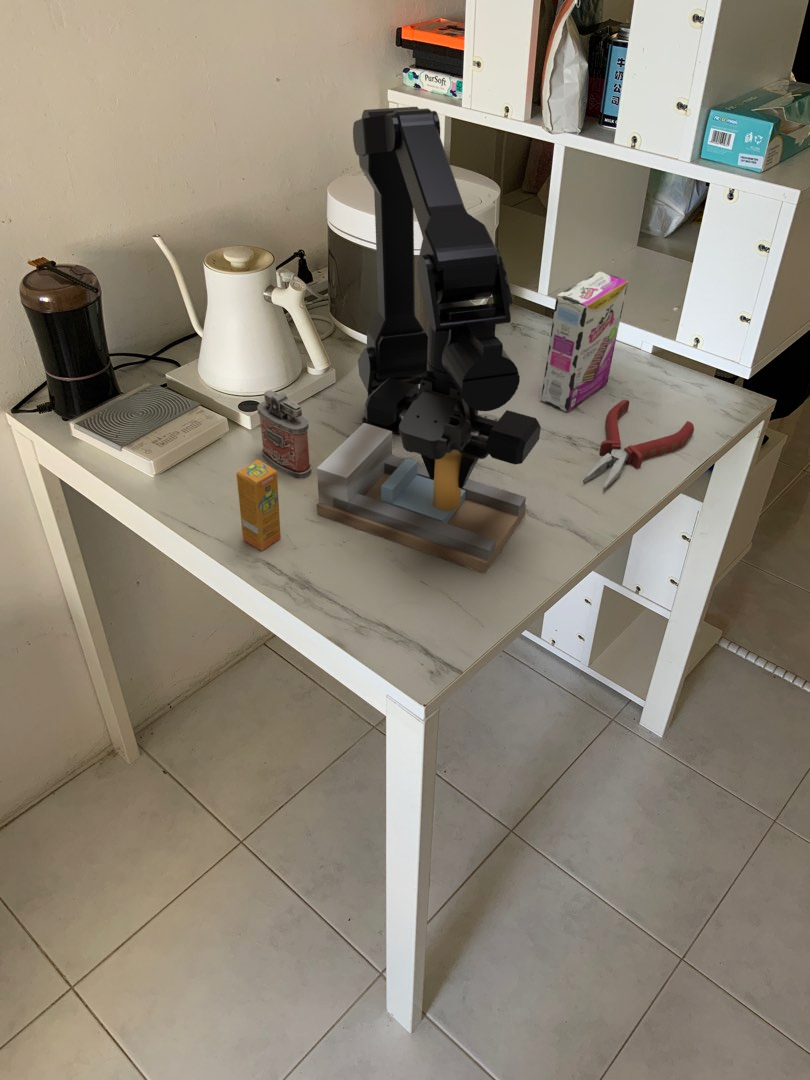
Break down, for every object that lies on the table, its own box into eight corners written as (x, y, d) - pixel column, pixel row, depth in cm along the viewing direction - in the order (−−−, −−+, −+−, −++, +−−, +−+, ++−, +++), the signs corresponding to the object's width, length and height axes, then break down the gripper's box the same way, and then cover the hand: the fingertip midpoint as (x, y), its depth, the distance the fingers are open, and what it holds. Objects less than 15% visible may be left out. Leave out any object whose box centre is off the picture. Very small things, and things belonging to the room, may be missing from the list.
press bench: (317, 514, 105) (314, 470, 101) (366, 463, 113) (365, 420, 109) (485, 573, 98) (489, 528, 94) (524, 514, 106) (530, 470, 102)
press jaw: (381, 509, 104) (380, 450, 98) (406, 480, 108) (407, 423, 103) (446, 531, 101) (450, 472, 95) (469, 501, 105) (474, 443, 100)
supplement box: (263, 553, 100) (254, 482, 93) (242, 540, 101) (232, 470, 95) (284, 539, 102) (277, 468, 95) (263, 526, 103) (255, 457, 97)
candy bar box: (568, 414, 123) (586, 306, 113) (539, 402, 126) (553, 294, 115) (610, 384, 130) (630, 279, 119) (581, 373, 132) (598, 268, 122)
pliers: (551, 476, 113) (554, 459, 111) (618, 409, 125) (621, 394, 124) (634, 509, 108) (638, 493, 106) (694, 437, 120) (699, 421, 119)
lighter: (256, 456, 114) (248, 389, 108) (276, 446, 116) (269, 379, 110) (297, 482, 110) (292, 414, 104) (317, 471, 112) (313, 403, 106)
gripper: (337, 373, 88) (342, 496, 98) (508, 421, 82) (495, 547, 92) (389, 328, 96) (388, 446, 106) (550, 369, 89) (533, 491, 100)
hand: (447, 481), depth 101 cm, fingers closed on press jaw, 3 cm apart
